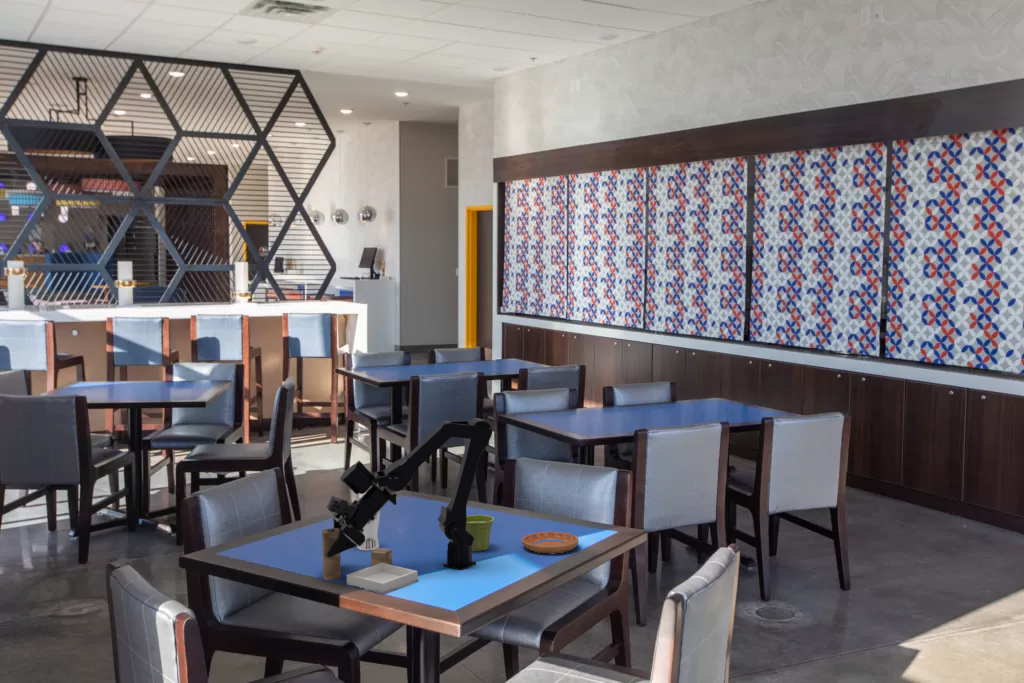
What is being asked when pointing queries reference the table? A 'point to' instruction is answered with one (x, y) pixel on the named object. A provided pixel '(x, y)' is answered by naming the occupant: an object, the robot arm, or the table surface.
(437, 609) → the table surface
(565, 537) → the saucer
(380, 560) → the short block
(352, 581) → the bus tray
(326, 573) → the walnut post
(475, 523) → the plant pot
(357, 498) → the beer glass
